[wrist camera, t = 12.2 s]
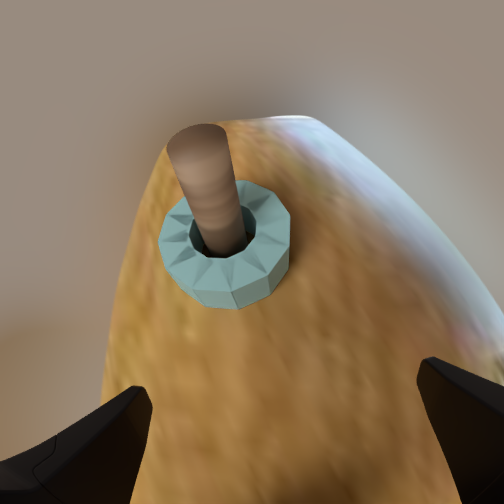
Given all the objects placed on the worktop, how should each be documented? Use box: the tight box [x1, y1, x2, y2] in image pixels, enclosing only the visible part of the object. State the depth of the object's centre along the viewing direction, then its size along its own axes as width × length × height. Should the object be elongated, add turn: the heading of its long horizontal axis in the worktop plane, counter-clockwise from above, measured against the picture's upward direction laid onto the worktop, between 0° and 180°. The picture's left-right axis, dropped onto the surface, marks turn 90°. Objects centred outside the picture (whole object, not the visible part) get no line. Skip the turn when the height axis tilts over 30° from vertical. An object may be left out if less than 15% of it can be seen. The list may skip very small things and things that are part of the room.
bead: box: [158, 180, 290, 309], centre depth 24 cm, size 11×11×4 cm
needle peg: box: [167, 124, 248, 258], centre depth 20 cm, size 4×4×13 cm
